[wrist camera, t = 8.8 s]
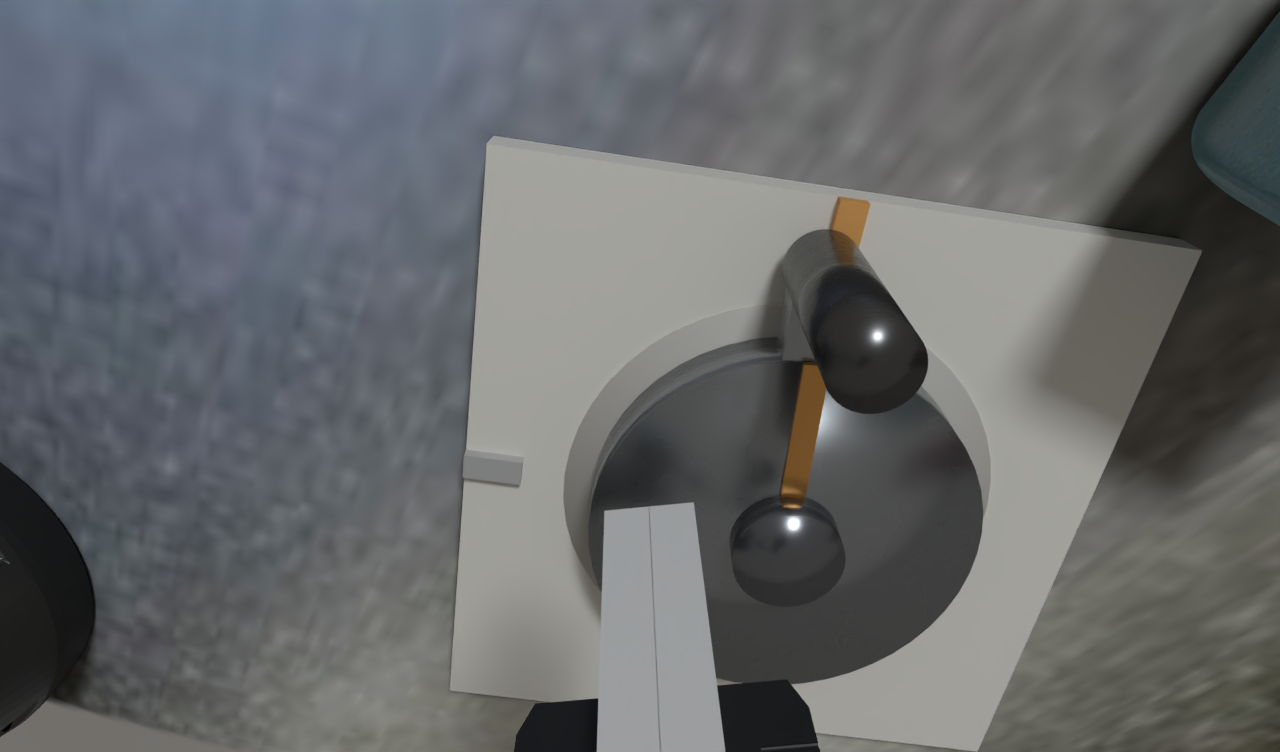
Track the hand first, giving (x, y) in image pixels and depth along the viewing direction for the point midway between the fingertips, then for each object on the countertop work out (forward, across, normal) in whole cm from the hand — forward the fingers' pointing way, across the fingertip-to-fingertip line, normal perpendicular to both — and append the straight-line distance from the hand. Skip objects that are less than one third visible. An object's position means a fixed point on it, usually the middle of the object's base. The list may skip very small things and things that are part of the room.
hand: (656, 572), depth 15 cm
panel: (+15, +4, -8) cm, 18 cm away
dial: (+13, +4, -7) cm, 16 cm away
